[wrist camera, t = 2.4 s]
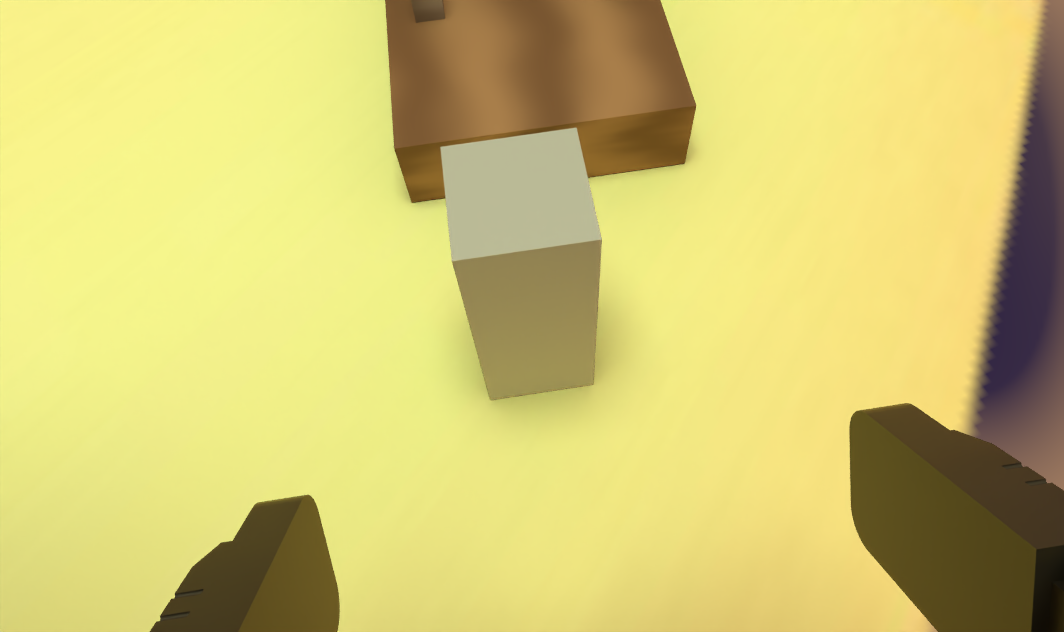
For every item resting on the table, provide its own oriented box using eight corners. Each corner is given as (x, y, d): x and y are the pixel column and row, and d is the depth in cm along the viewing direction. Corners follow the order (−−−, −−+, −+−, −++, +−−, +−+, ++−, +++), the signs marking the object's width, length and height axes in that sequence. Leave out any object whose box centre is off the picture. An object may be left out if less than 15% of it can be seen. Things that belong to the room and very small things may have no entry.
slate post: (490, 399, 31) (452, 261, 21) (479, 310, 33) (440, 147, 23) (593, 384, 31) (601, 239, 21) (575, 295, 33) (576, 127, 23)
